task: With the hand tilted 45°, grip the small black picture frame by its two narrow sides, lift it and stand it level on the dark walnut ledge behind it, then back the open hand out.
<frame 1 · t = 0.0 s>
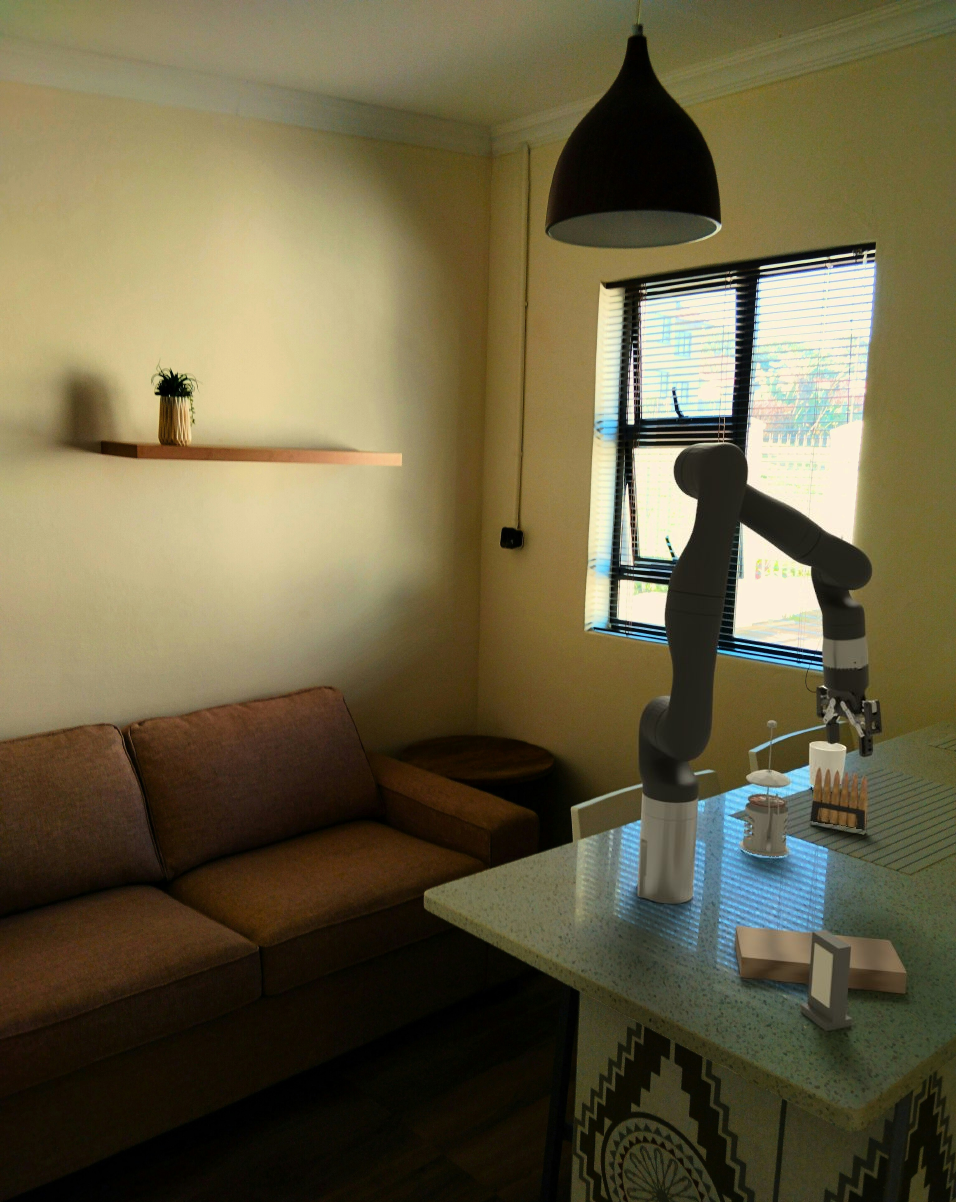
hand: (849, 749, 180), 22 cm above the kitchen counter, tool pointing down, fingers open, 8 cm apart
french press: (764, 852, 191), on the kitchen counter
ammunition clip: (837, 829, 205), on the kitchen counter
picture frame: (825, 1018, 133), on the kitchen counter
white cup: (824, 789, 231), on the kitchen counter
walnut ledge: (816, 968, 146), on the kitchen counter
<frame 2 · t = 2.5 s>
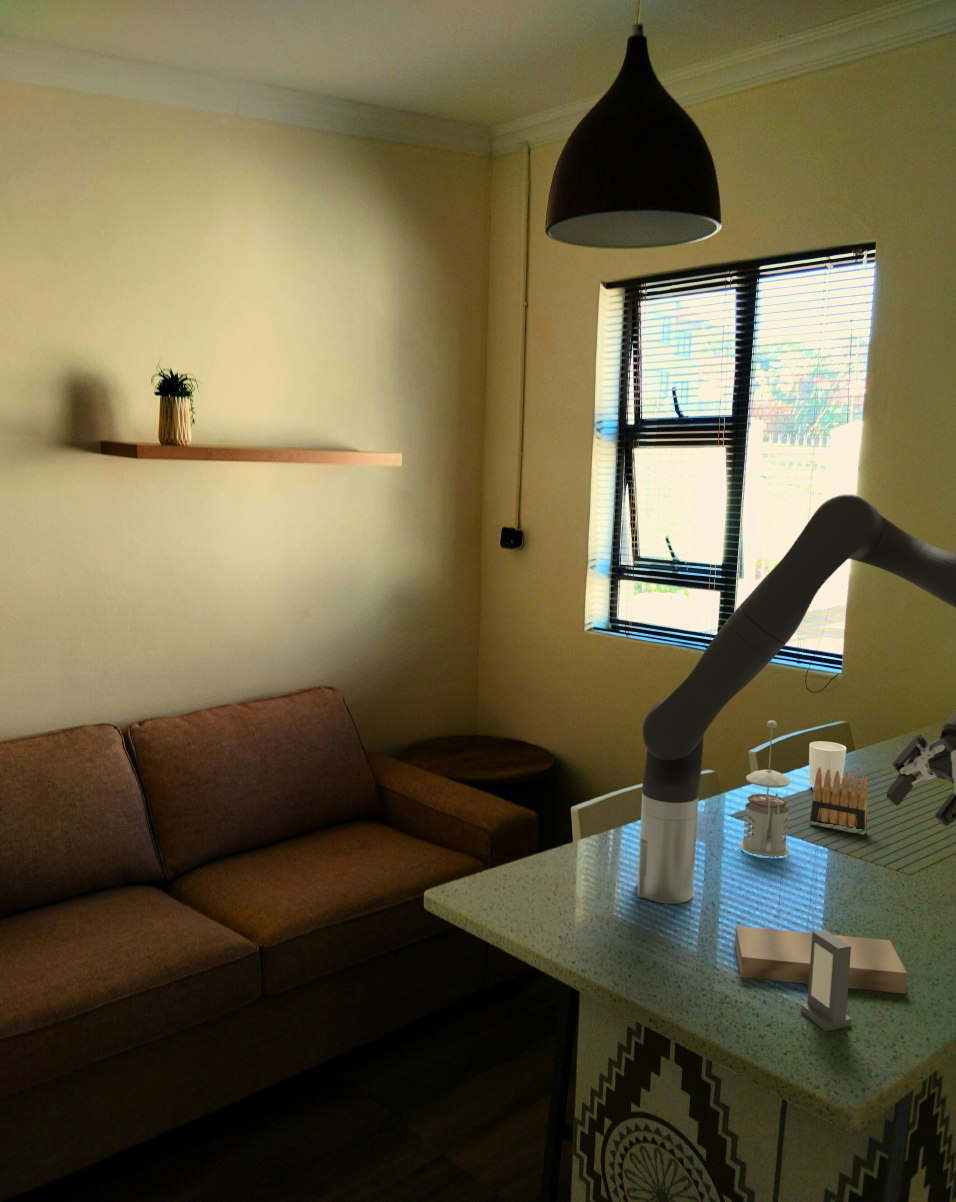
hand: (915, 811, 134), 27 cm above the kitchen counter, tool tilted 45°, fingers open, 8 cm apart
nothing on the kitchen counter moved.
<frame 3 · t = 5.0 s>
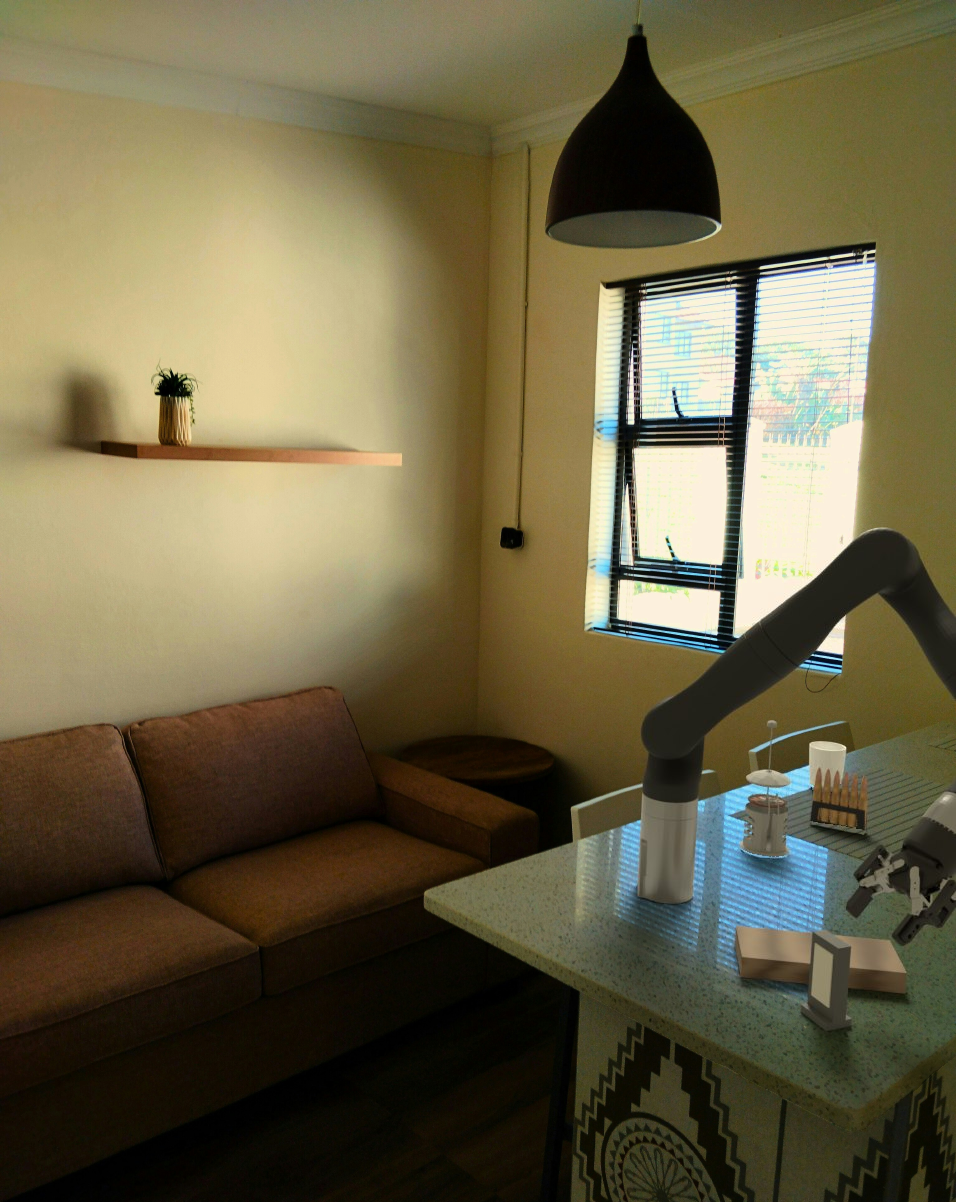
hand: (873, 927, 133), 12 cm above the kitchen counter, tool tilted 45°, fingers open, 8 cm apart
nothing on the kitchen counter moved.
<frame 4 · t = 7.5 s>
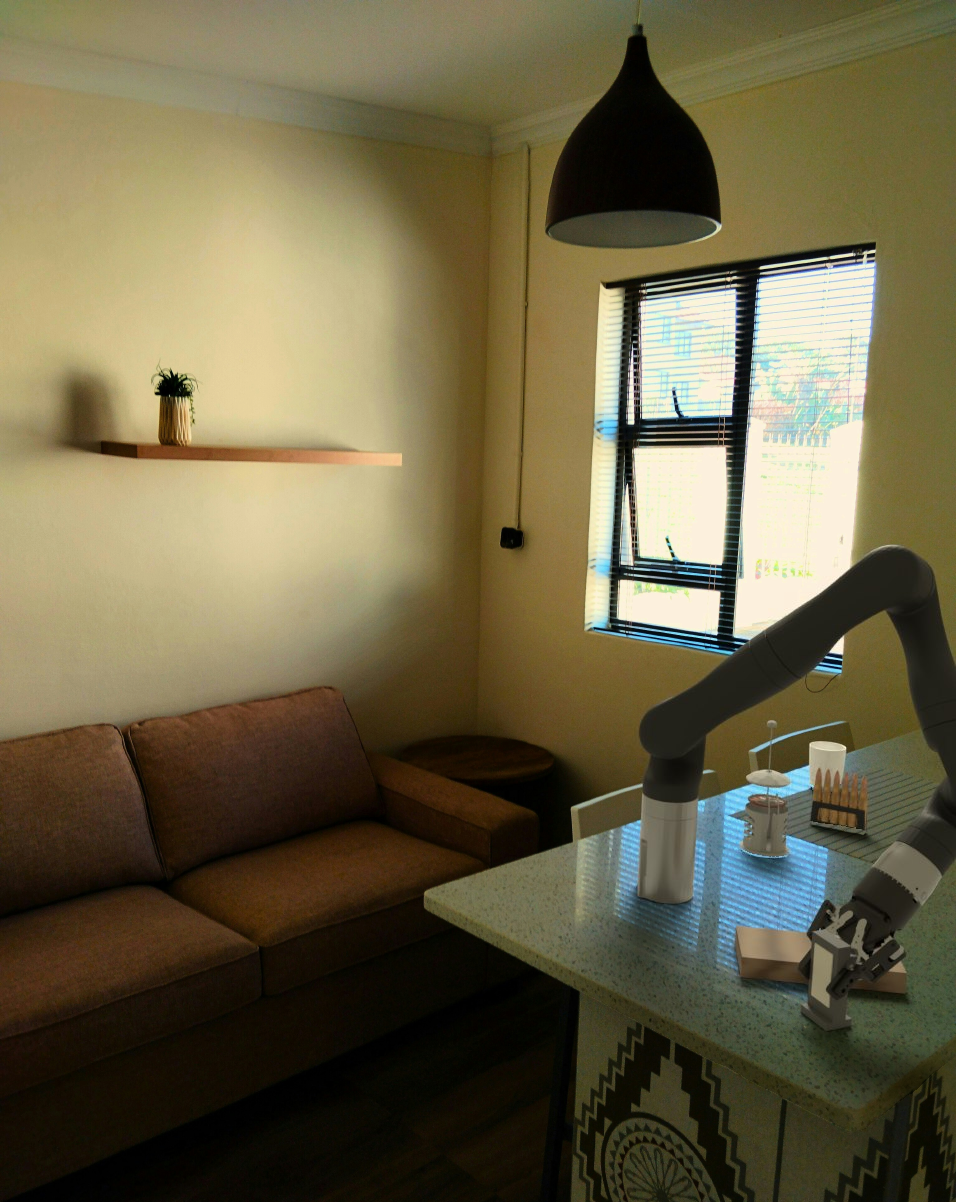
hand: (816, 985, 131), 5 cm above the kitchen counter, tool tilted 45°, fingers closed on picture frame, 5 cm apart
picture frame: (825, 1018, 133), on the kitchen counter, touching gripper
everything else where it was.
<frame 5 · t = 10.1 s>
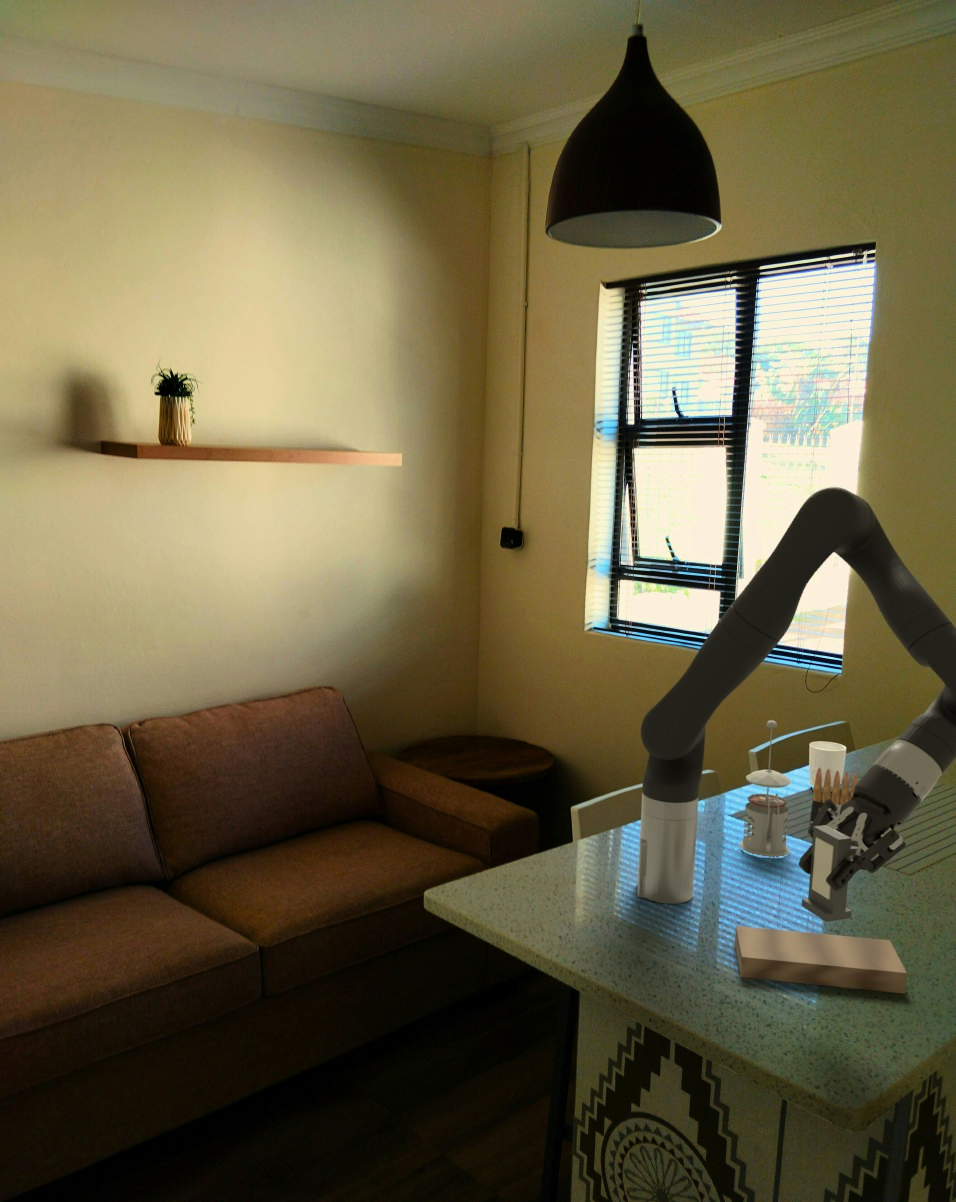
hand: (817, 877, 133), 18 cm above the kitchen counter, tool tilted 45°, fingers closed on picture frame, 5 cm apart
picture frame: (826, 912, 135), point 13 cm above the kitchen counter, touching gripper
everything else where it was.
when the fingers open (9 cm above the kitchen counter, at t = 12.8 s): picture frame stays where it is, resting on walnut ledge.
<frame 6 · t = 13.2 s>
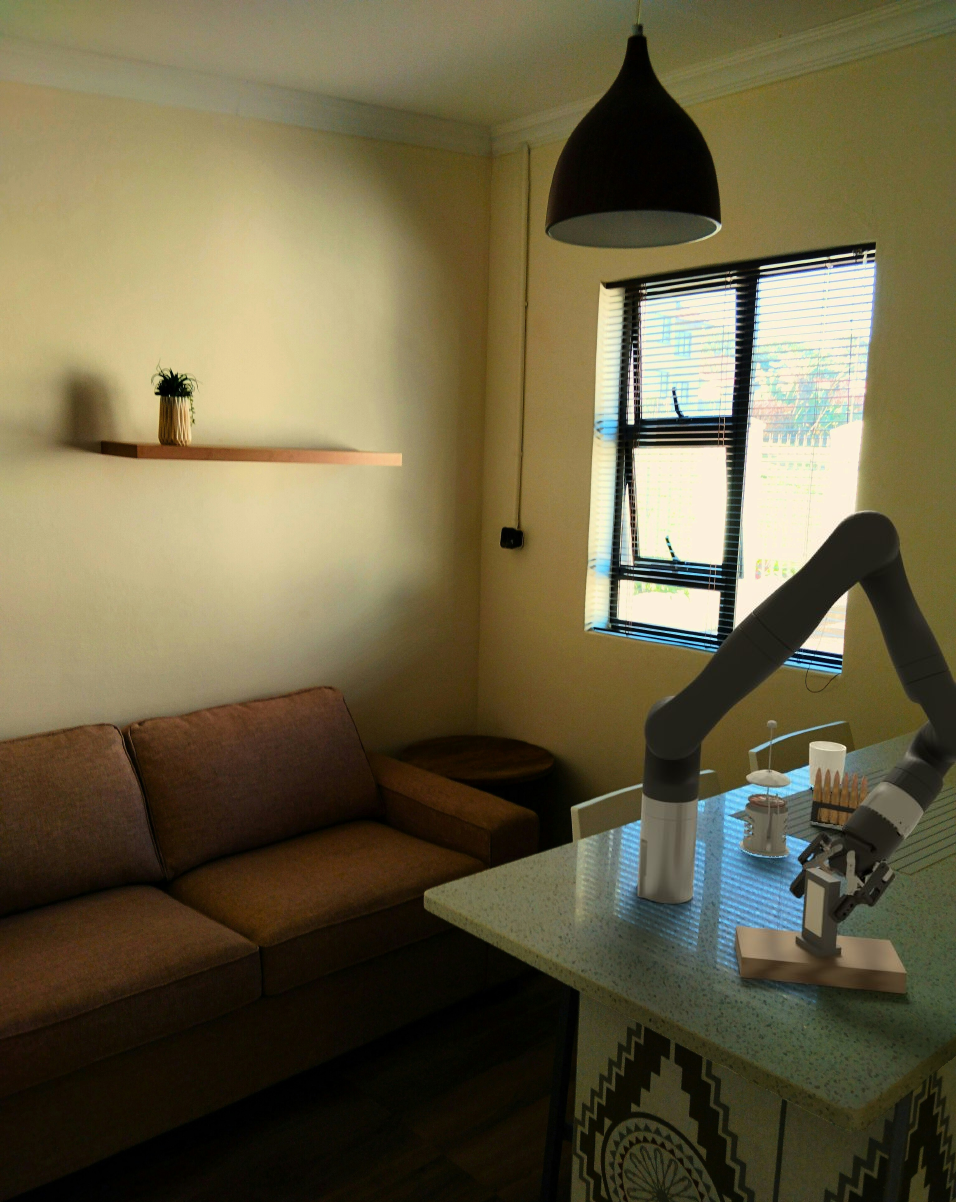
hand: (812, 906, 144), 9 cm above the kitchen counter, tool tilted 45°, fingers open, 8 cm apart
picture frame: (817, 948, 146), point 3 cm above the kitchen counter, touching walnut ledge
everything else where it was.
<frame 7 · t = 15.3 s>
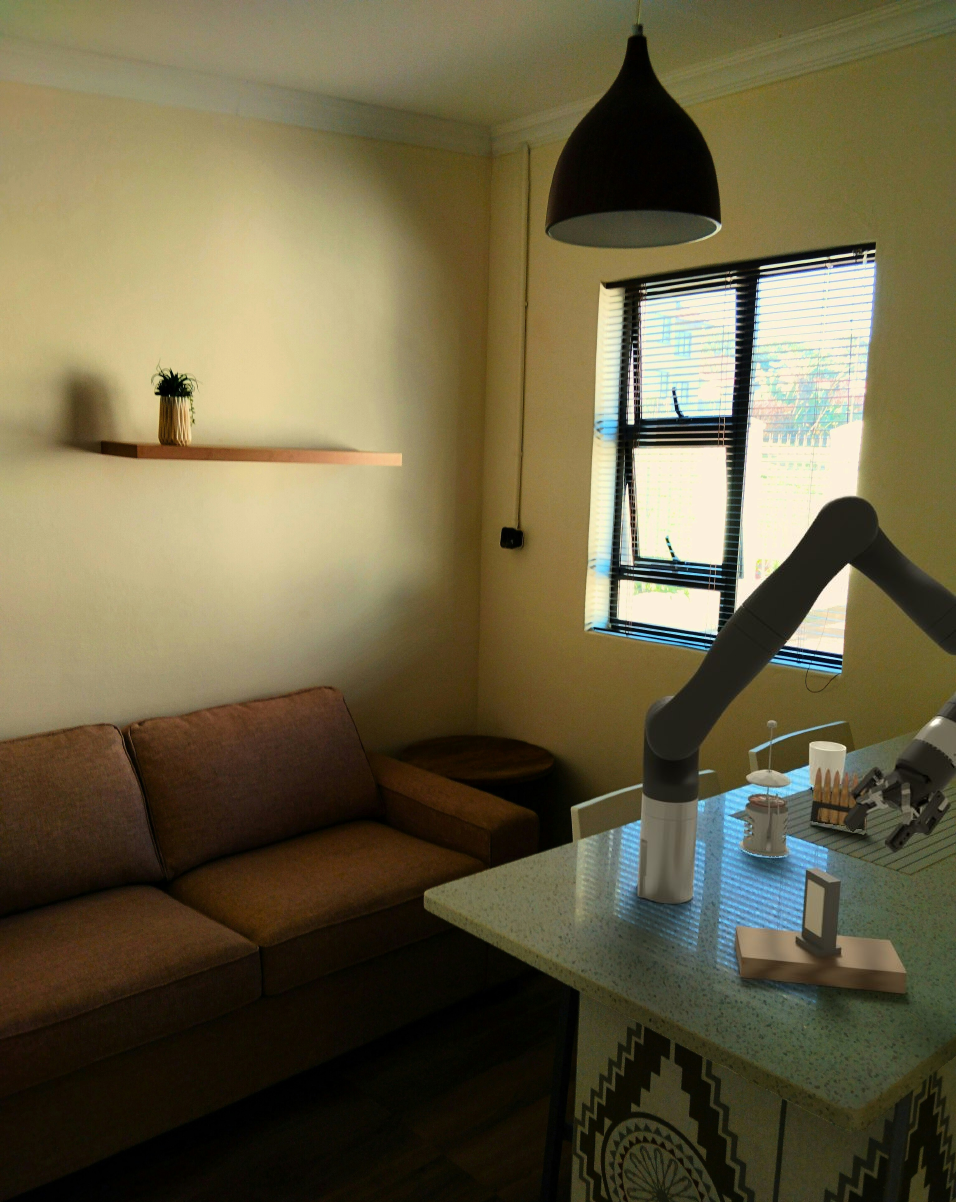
hand: (867, 837, 147), 19 cm above the kitchen counter, tool tilted 45°, fingers open, 8 cm apart
nothing on the kitchen counter moved.
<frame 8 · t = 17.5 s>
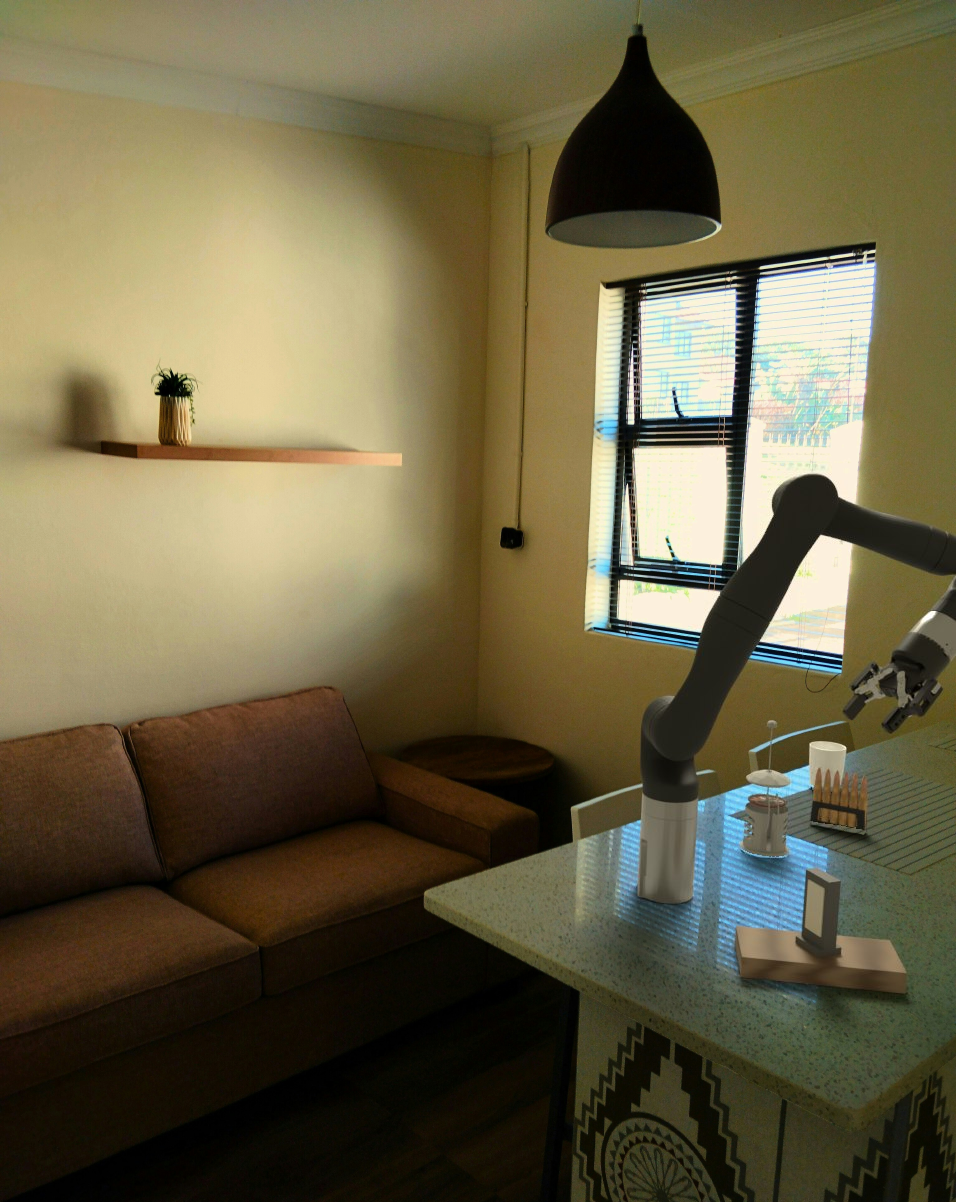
hand: (865, 723, 157), 33 cm above the kitchen counter, tool tilted 45°, fingers open, 8 cm apart
nothing on the kitchen counter moved.
at the end: picture frame inside the target area on the walnut ledge (0.1 cm from its centre), point 3.0 cm above the walnut ledge's base; picture frame tilted 0°; the gripper is holding nothing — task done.
